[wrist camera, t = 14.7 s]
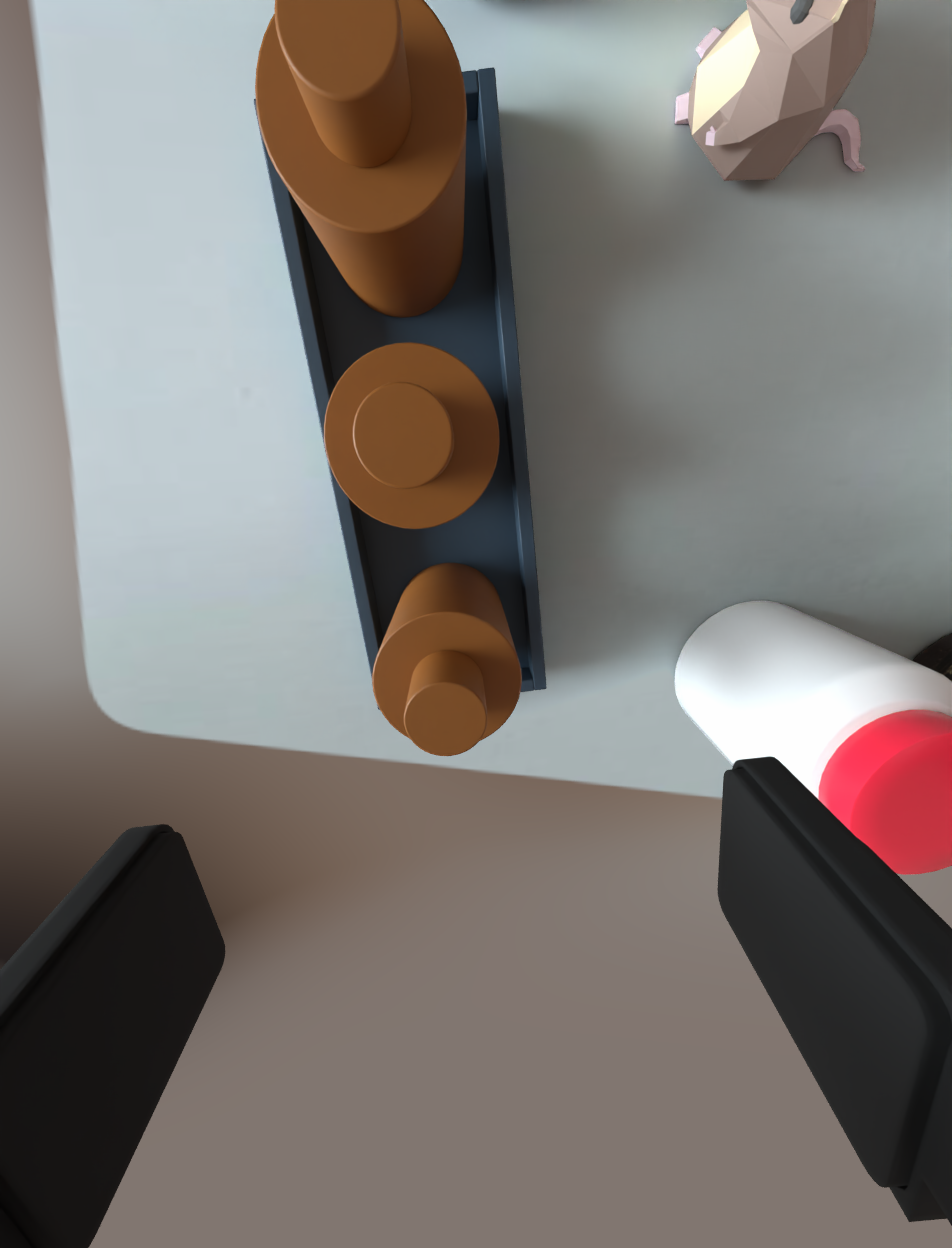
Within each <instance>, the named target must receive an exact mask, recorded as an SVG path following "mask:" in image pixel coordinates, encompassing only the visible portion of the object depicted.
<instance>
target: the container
mask: <svg viewBox="0 0 952 1248" xmlns="http://www.w3.org/2000/svg"><path fill="white" fill-rule="evenodd" d="M913 661H914V662H916V663H918V664H921V665H923V666H925V667H927V668H930V669H932V670H934V671H936V672H939V673H941V674H943V675H944V676H945V677H947V678H948V679H949V680H950V681H952V633H951V634H949V635H947V636H945V637H943V638H941V639H940V640H938V641H937V642H935V643H934V644H932V645H931V646H929V647H928V648H927V649H926V650H924V651H923V652H922V653H921V654H919V655H918V656H917V657H916V658H915V659H914V660H913Z"/></svg>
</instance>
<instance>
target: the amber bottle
mask: <svg viewBox="0 0 952 1248" xmlns="http://www.w3.org/2000/svg"><path fill="white" fill-rule="evenodd" d="M372 684H373V692H374V695H375V699H376V701H377V704H378V706H379V708H380V710H381V712H382V713H383V715H384V716H385V718H386V719H387V720H388V721H389V723H390V724H391V725H392V726H393V727H394V728H395V729H397V730H398V731H399V732H401V733H402V734H403V735H405V736H407V737H408V738H410V739H411V740H412V741H413V743H414V744H416V745H417V746H418V747H419V748H420V749H422V750H424V751H426V752H428V753H430V754H434V755H439V756H452V755H457V754H461V753H463V752H465V751H467V750H469V749H471V748H472V747H473V746H475V745H476V744H477V743H478V742H479V741H480V740H482V739H484V738H486V737H488V736H489V735H491V734H492V733H494V732H495V731H496V730H498V729H499V728H500V727H501V726H502V725H503V724H504V723H505V722H506V720H507V719H508V718H509V717H510V715H511V714H512V712H513V710H514V708H515V706H516V704H517V702H518V699H519V695H520V692H521V684H522V674H521V667H520V663H519V659H518V656H517V653H516V650H515V646H514V643H513V640H512V636H511V633H510V630H509V627H508V623H507V620H506V617H505V613H504V610H503V607H502V604H501V600H500V597H499V594H498V592H497V590H496V588H495V587H494V585H493V584H492V582H491V581H490V580H489V579H488V578H487V577H486V576H485V575H484V574H482V573H481V572H479V571H478V570H476V569H474V568H472V567H470V566H467V565H464V564H459V563H441V564H436V565H433V566H430V567H428V568H426V569H424V570H422V571H421V572H419V573H418V574H417V575H416V576H414V577H413V578H412V579H411V581H410V582H409V583H408V584H407V586H406V587H405V589H404V591H403V593H402V596H401V598H400V601H399V603H398V605H397V608H396V610H395V613H394V615H393V617H392V620H391V622H390V625H389V627H388V630H387V632H386V634H385V637H384V639H383V642H382V644H381V647H380V649H379V651H378V654H377V656H376V659H375V663H374V667H373V673H372Z"/></svg>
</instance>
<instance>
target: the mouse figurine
mask: <svg viewBox="0 0 952 1248" xmlns="http://www.w3.org/2000/svg"><path fill="white" fill-rule="evenodd" d="M746 3H747V7H748V9H747V10H746V11H745V12H744V13H742V14H741V15H740V16H739V17H738V18H737V19H736V20H735V21H733V22H732V23H731V24H730V25H729V26H728V27H727V28H726V29H725V30H724V31H722V32H721V31H720V30H718V29H717V28H715V27H714V28H713V29H712V30H711V31H710V32H709V33H708V34H707V36H706V37H705V38H704V39H703V40H702V41H701V42H700V44H699V45H698V46H697V48H696V51H697V53H698V54H699V56H700V57H701V61H700V63H699V65H698V67H697V70H696V73H695V76H694V79H693V82H692V85H691V88H690V91H689V92H688V93H685V94H682V95H679V96H678V97H677V98H676V111H675V124H689V126H690V130H691V135H692V137H693V138H694V140H695V141H696V142H697V144H698V145H699V147H700V148H701V149H702V151H703V152H704V153H705V155H706V156H707V158H708V159H709V160H710V162H711V163H712V165H713V166H714V167H715V169H716V170H717V172H718V173H719V174H720V176H721V177H722V179H723V180H724V181H727V180H767V179H775V178H776V177H777V176H778V175H779V174H780V173H781V172H782V171H783V170H784V168H785V167H786V166H787V165H788V164H789V163H790V162H791V161H792V160H793V158H794V157H795V156H796V155H797V154H798V153H799V152H800V151H801V150H802V149H803V147H804V146H805V145H806V144H807V143H808V142H809V141H810V140H811V139H812V138H813V137H814V136H816V135H818V134H820V133H826V132H833V133H835V134H836V135H838V136H839V138H840V140H841V143H842V148H843V155H844V163H845V164H846V165H847V166H849V167H850V168H851V169H852V170H853V171H854V172H863V171H864V170H865V167H864V166H863V165H861V164H860V163H859V149H860V144H861V135H860V129H859V122H858V119H857V118H856V117H855V116H854V115H852V114H851V113H850V112H849V111H848V110H847V109H839V110H833V108H834V107H835V105H836V104H837V102H838V101H839V99H840V98H841V96H842V95H843V93H844V92H845V90H846V88H847V86H848V85H849V83H850V81H851V79H852V78H853V76H854V74H855V73H856V71H857V69H858V67H859V66H860V64H861V62H862V60H863V59H864V57H865V55H866V53H867V49H868V44H869V40H870V36H871V31H872V27H873V22H874V13H875V5H876V0H746Z"/></svg>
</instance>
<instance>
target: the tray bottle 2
mask: <svg viewBox="0 0 952 1248" xmlns="http://www.w3.org/2000/svg"><path fill="white" fill-rule="evenodd" d="M324 443H325V450H326V454H327V458H328V462H329V465H330V467H331V470H332V472H333V475H334V477H335V478H336V480H337V482H338V484H339V486H340V487H341V488H342V490H343V491H344V493H345V494H346V495H347V496H348V497H349V499H350V500H351V501H352V502H353V503H354V504H355V505H356V506H358V507H359V508H360V509H361V510H362V511H364V512H365V513H367V514H368V515H370V516H371V517H373V518H375V519H377V520H379V521H381V522H383V523H386V524H389V525H392V526H396V527H401V528H409V529H422V528H430V527H435V526H438V525H441V524H444V523H447V522H449V521H451V520H453V519H455V518H457V517H458V516H460V515H461V514H463V513H464V512H466V511H467V510H468V509H469V508H470V507H471V506H472V505H474V503H475V502H476V501H477V500H478V499H479V498H480V497H481V495H482V494H483V492H484V491H485V489H486V488H487V486H488V484H489V482H490V480H491V478H492V476H493V473H494V470H495V467H496V463H497V458H498V453H499V427H498V420H497V416H496V412H495V409H494V405H493V403H492V401H491V398H490V396H489V394H488V392H487V390H486V389H485V387H484V385H483V384H482V382H481V381H480V380H479V378H478V377H477V376H476V375H475V373H474V372H473V371H472V370H471V369H470V368H469V367H468V366H467V365H466V364H464V363H463V362H462V361H460V360H459V359H458V358H456V357H455V356H453V355H451V354H450V353H448V352H446V351H444V350H442V349H439V348H437V347H434V346H430V345H426V344H422V343H411V342H407V343H395V344H390V345H386V346H383V347H380V348H377V349H375V350H373V351H371V352H369V353H367V354H365V355H364V356H362V357H361V358H360V359H358V360H357V361H356V362H354V363H353V364H352V365H351V366H350V367H349V368H348V369H347V370H346V371H345V373H344V374H343V375H342V377H341V378H340V379H339V381H338V383H337V384H336V386H335V388H334V390H333V392H332V394H331V397H330V399H329V402H328V406H327V410H326V414H325V422H324Z"/></svg>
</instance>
